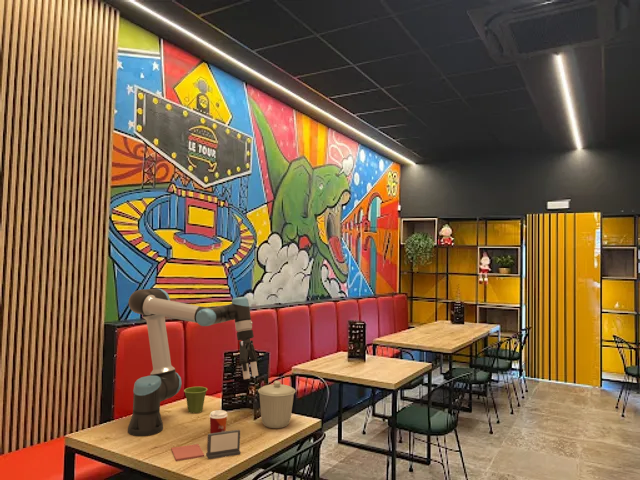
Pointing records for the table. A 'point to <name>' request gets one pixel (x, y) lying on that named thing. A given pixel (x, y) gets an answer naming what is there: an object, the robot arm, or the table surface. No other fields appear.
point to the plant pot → (195, 398)
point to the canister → (276, 404)
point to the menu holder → (223, 444)
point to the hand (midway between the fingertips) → (251, 377)
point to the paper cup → (218, 421)
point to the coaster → (187, 452)
